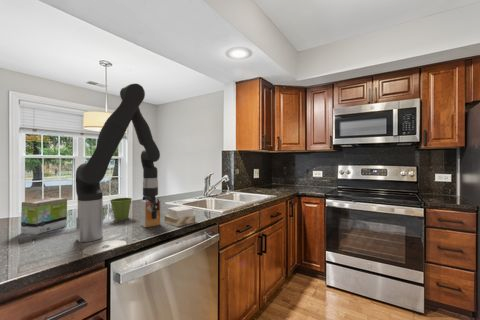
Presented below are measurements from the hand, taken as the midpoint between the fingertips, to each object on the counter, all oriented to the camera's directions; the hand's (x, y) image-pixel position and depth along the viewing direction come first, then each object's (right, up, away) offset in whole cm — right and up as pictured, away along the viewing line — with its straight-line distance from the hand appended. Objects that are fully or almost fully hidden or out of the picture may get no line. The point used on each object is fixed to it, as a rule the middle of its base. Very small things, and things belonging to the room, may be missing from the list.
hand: (150, 217), depth 125 cm
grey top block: (+14, -1, +6) cm, 16 cm away
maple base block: (+14, -5, +6) cm, 16 cm away
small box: (0, -4, 0) cm, 4 cm away
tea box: (-49, -4, -8) cm, 50 cm away
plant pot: (-22, -4, +13) cm, 26 cm away
